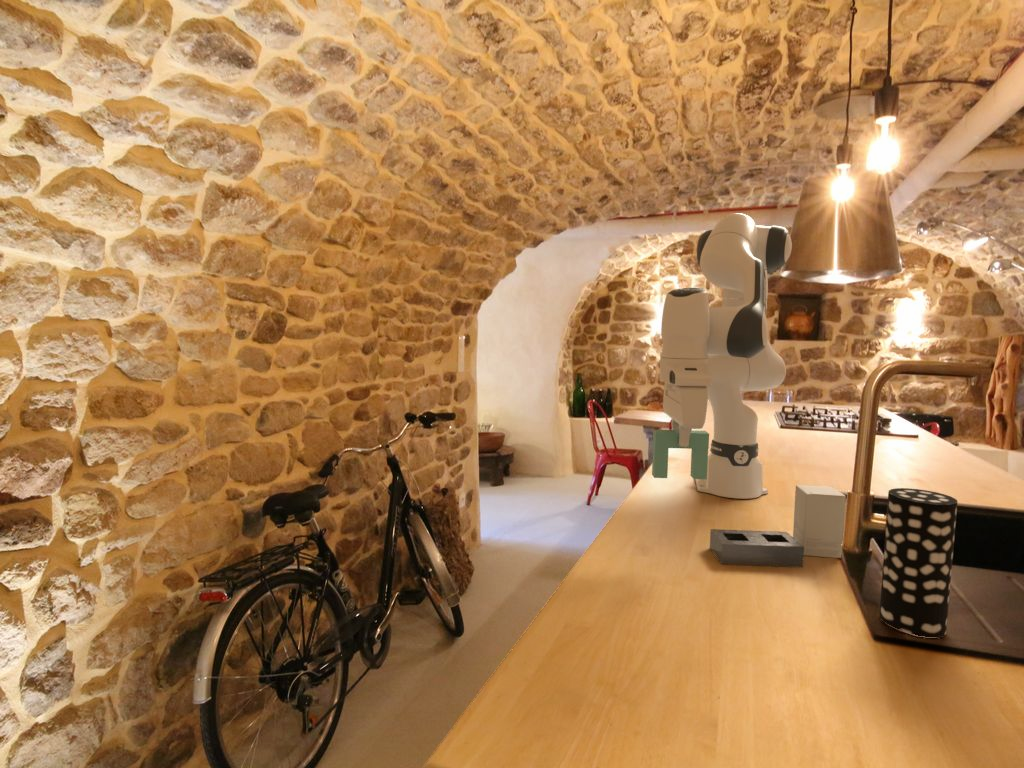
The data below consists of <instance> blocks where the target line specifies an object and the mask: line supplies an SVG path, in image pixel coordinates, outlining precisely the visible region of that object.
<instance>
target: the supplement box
mask: <svg viewBox="0 0 1024 768" xmlns="http://www.w3.org/2000/svg"><path fill="white" fill-rule="evenodd" d="M794 492H795V494H794V511H793V531H792V537H793V538H794V539H796V540H797V541H798V542H799V543H800V544H801V545H803V546H804V556H811V557H822V558H834V559H842V558H841V555H842V556H843V549H842V547H841V544H842V541H843V542H844V533H845V532H844V531H845V529H844V528H845V515H846V514H845V513H846V499H847V496H846V495H845V494H843V493H842V492H841V491H840V490H838V489H836V488H835V487H834V486H827V485H806V484H804V485H803V484H796V485H795V491H794Z"/></svg>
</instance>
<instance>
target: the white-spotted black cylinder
mask: <svg viewBox="0 0 1024 768" xmlns="http://www.w3.org/2000/svg"><path fill="white" fill-rule="evenodd" d="M957 511H958V499H956V498H954V497H953V496H950V495H947V494H944V493H940V492H936V491H932V490H928V489H927V490H926V489H919V488H908V487H907V488H905V487H903V488H902V487H898V488H891V489H889V490H888V493H887V506H886V523H885V534H884V535H885V536H884V548H883V549H884V550H883V551H884V552H883V558H882V559H883V561H882V573H881V589H880V599H879V600H880V603H879V615H880V617H879V619H880V618H881V619H882V620H883V621H884V622H886V623H887V624H889V625H891V626H893V627H895V628H897V629H900V630H903V631H906V632H908V633H911V634H915V635H918V636H925V637H942V636H944V635H945V634H946V635H947V627H948V616H949V605H950V604H949V603H950V593H951V583H952V570H953V569H952V568H953V561H954V560H953V558H954V547H955V545H954V544H955V535H956V524H957ZM881 619H880V620H881ZM946 635H945V636H946ZM945 636H944V637H945ZM942 638H943V637H942Z"/></svg>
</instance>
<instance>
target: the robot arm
mask: <svg viewBox="0 0 1024 768" xmlns="http://www.w3.org/2000/svg"><path fill="white" fill-rule="evenodd" d="M756 224H757V223H756V222H755V221H754V219H752V217H750V216H749V215H746V214H744V213H737V212H736V213H729V214H727V215H725V216H724V217H723V218H721V219H720V220H719V221H718V222H717V224H715V225H714V227H713V228H711V229H708V230H705V231H704V232H703V233H702V234H701V235H700V236H699V238H698V241H697V244H696V249H695V251H696V253H695V254H696V259H697V262H698V263H697V264H699V267H700V271H701V273H702V275H703V276H704V277H705V279H706V280H707V281H708V282H709V283H710V284H712V285H714V286H716V287H717V288H721V289H722V290H723V291H722V298H721V299H722V300H721V301H722V302H721V306H710V302H709V294H708V290H706V289H704V288H701V287H700V288H699V287H683V288H675V289H672V290H670V291H668V292H667V293H666V294H665V295H666V296H665V298H664V304H663V309H662V316H661V317H662V318H661V329H660V330H661V332H660V333H661V334H660V336H661V339H662V347H661V348H662V349H661V352H660V357H659V379H658V380H659V381H660V382H662V383H664V386H663V399H662V411H663V413H664V414H666V415H667V416H668V417H669V418H671V422H670V423H671V427H672V428H671V430H679V436H678V445H679V446H681V447H687V446H688V445H689V437H690V434H691V430H692V429H693V430H694V429H695V430H699V429H703V427H704V426H705V423H706V417H707V411H708V410H707V409H708V403H710V405H711V408H712V409H711V410H712V415H713V439H711V443H710V450H709V451H710V453H709V454H708V464H707V479H694V480H695V485H696V490H697V491H698V492H701V493H706V494H712V495H714V496H718V497H721V498H722V497H723V498H729V499H730V498H731V499H739V500H740V499H743V500H744V499H746V500H747V499H756V498H759V497H761V496H762V495H765V494H766V495H767V494H768V493H769V491H768V490H769V489H768V488H766V487H764V481H763V480H764V476H763V473H764V471H763V468H764V467H763V463H762V462H761V461H760V460H759V459H758V456H759V449H760V448H759V443H758V441H757V439H758V423H759V422H758V421H759V417H758V415H757V413H756V411H754V409H753V408H751V407H749V406H748V405H746V404H745V403H743V401H742V397H741V392H764V391H768V390H771V389H776V388H779V387H780V386H781V385H782V384H783V382H784V380H785V378H786V374H787V366H786V363H785V361H784V359H783V358H782V356H780V355H779V354H778V353H777V352H776V350H775V349H774V348H773V347H772V345H771V343H770V341H769V323H768V319H767V307H768V306H767V305H768V304H767V303H768V295H769V292H768V291H769V281H768V280H769V279H768V274H769V276H772V275H774V272H775V271H779V270H780V269H782V268H783V267H784V266H785V265H786V264H787V262H788V260H789V258H790V257H791V254H792V249H793V242H792V238H791V235H790V232H789V230H788V229H787V228H786V227H783V226H780V225H779V226H778V225H771V226H765V225H756ZM708 401H709V402H708ZM693 430H692V431H693Z"/></svg>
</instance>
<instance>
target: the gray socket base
mask: <svg viewBox="0 0 1024 768" xmlns="http://www.w3.org/2000/svg"><path fill="white" fill-rule="evenodd" d="M709 531H710V532H709V533H710V534H709V535H710V536H709V549H710V548H711V549H710V551H711V550H712V551H713V552H712V551H711V552H712V554H715V555H716V556H715V555H714V556H715V558H716V559H717V558H718V559H719V560H718V559H717V560H718V562H719V561H720V562H721V563H720V562H719V563H720V565H728V564H734V566H735V564H736V566H755V567H756V566H761V567H780V568H781V567H783V568H803V567H804V556H805V555H804V546H803V545H801V544H800V543H799V542H798V541H797V540H796V539H794V538H793V535H791V534H790V533H789V532H787V531H779V530H778V531H773V530H751V529H750V530H746V529H719V528H718V529H717V528H716V529H715V528H711V529H710V530H709Z"/></svg>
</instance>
